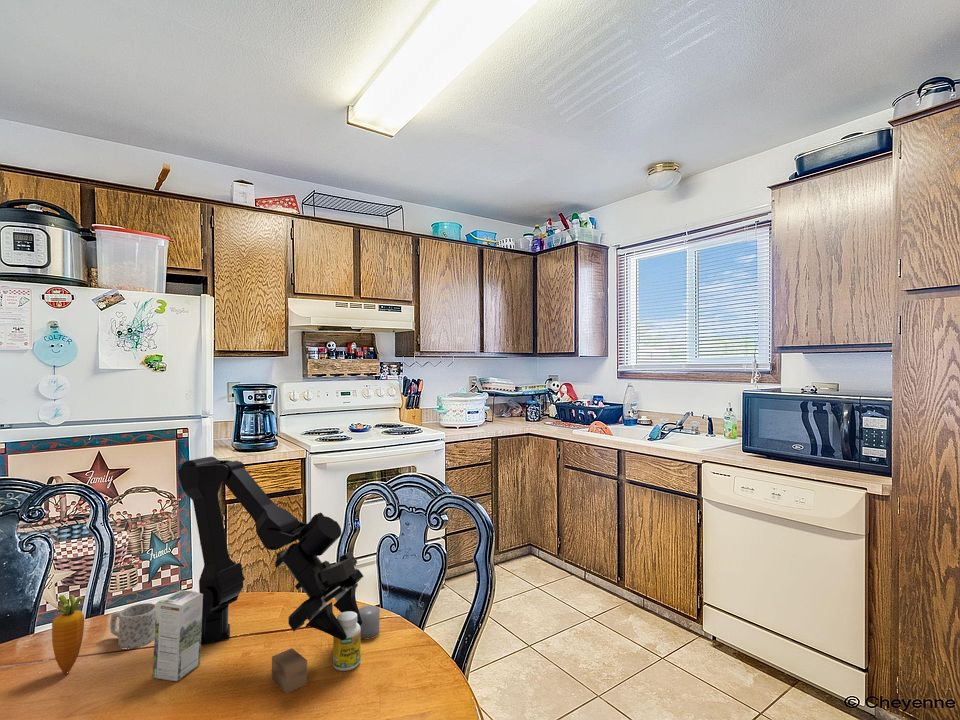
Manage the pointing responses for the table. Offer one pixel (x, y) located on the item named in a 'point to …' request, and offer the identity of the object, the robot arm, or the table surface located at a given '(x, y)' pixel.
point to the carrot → (67, 633)
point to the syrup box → (177, 635)
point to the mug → (134, 625)
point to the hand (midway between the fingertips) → (353, 631)
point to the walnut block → (289, 670)
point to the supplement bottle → (347, 643)
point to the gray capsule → (369, 621)
